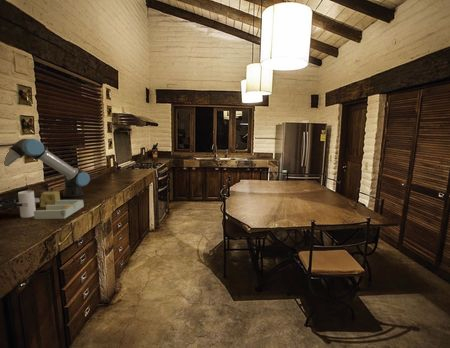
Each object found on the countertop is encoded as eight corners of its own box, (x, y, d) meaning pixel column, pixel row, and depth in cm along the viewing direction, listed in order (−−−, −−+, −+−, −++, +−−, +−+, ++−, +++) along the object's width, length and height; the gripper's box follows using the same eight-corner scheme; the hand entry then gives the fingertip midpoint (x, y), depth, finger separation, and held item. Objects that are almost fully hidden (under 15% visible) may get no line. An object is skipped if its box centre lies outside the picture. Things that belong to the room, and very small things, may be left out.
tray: (34, 219, 163) (33, 210, 162) (58, 206, 190) (57, 199, 190) (64, 218, 165) (63, 209, 164) (83, 206, 192) (83, 198, 191)
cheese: (40, 207, 188) (38, 194, 186) (45, 203, 198) (44, 191, 197) (56, 206, 191) (55, 193, 189) (61, 203, 201) (60, 190, 199)
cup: (34, 212, 176) (31, 190, 173) (37, 215, 170) (35, 191, 168) (19, 215, 169) (16, 192, 167) (22, 218, 164) (19, 194, 162)
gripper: (10, 203, 178) (44, 203, 181) (-17, 213, 156) (22, 213, 158) (9, 193, 177) (43, 192, 180) (-19, 201, 155) (21, 201, 157)
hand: (33, 202), depth 169 cm, fingers open, 10 cm apart
